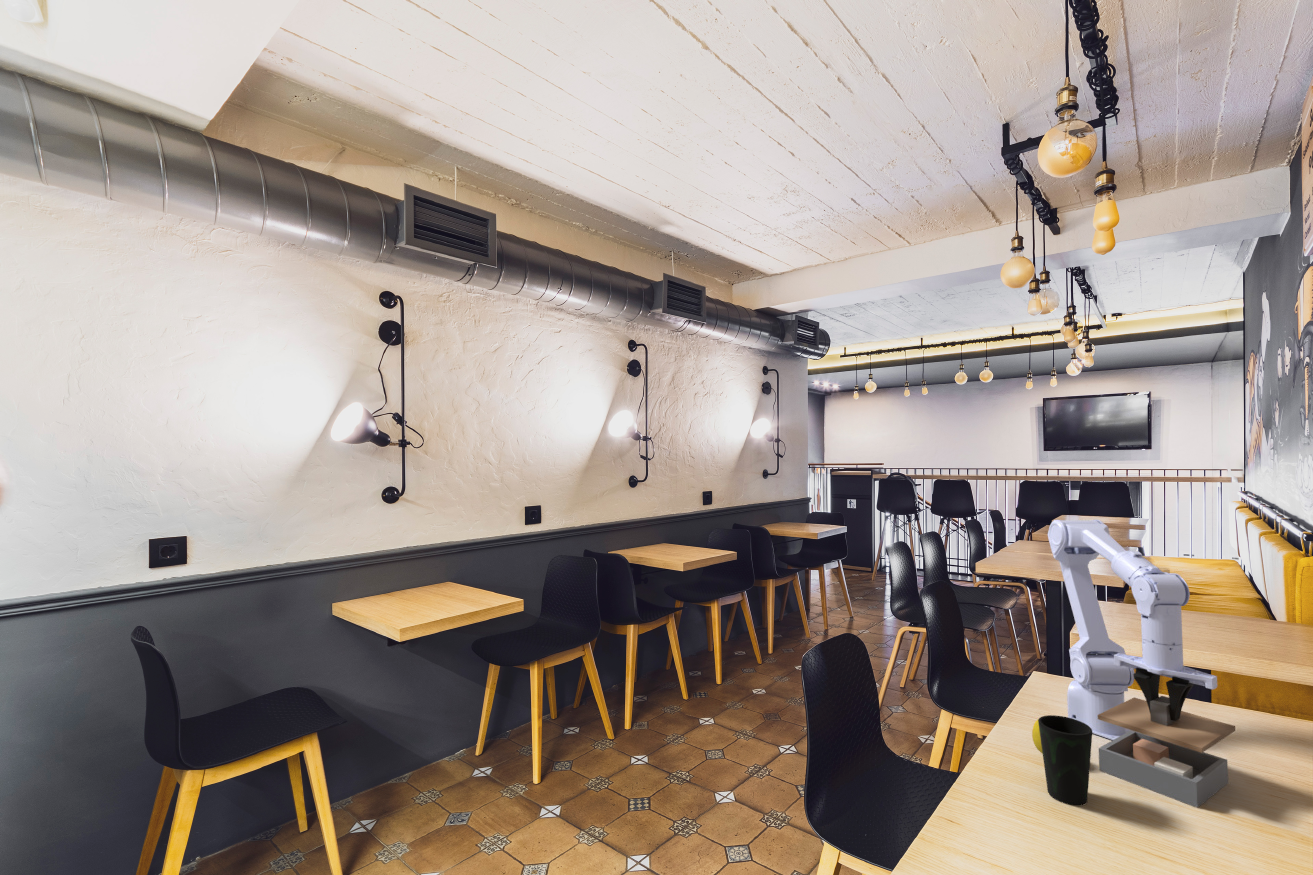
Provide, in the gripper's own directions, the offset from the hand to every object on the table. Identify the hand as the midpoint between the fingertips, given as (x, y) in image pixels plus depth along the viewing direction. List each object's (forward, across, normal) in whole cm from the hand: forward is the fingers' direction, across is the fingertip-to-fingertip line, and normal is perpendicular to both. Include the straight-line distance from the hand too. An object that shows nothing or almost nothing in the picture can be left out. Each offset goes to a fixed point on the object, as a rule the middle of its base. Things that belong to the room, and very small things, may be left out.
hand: (1164, 715), depth 109 cm
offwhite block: (+10, +2, -4) cm, 11 cm away
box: (+10, 0, -2) cm, 10 cm away
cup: (+10, -6, -23) cm, 26 cm away
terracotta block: (+10, -3, +1) cm, 10 cm away
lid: (+2, 0, 0) cm, 2 cm away
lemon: (+11, -14, -12) cm, 21 cm away
